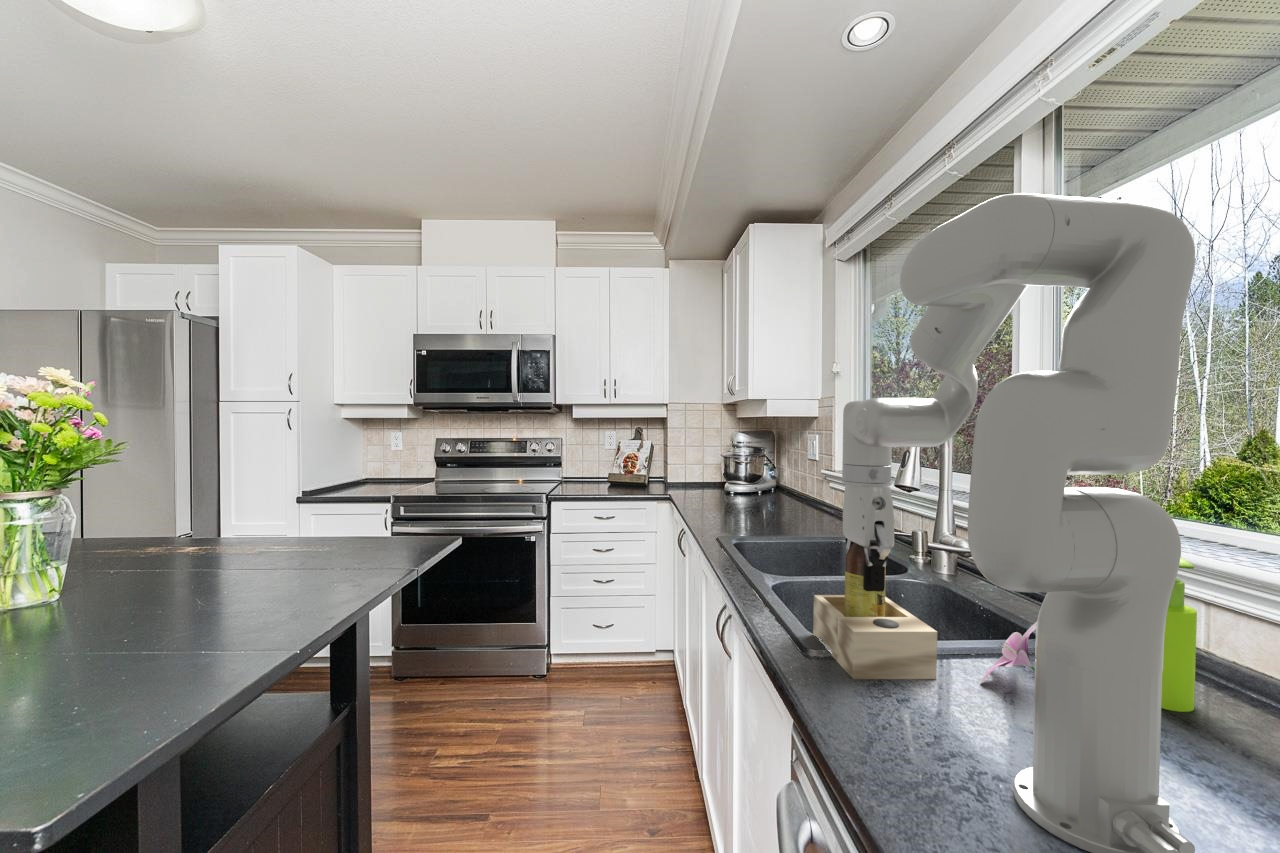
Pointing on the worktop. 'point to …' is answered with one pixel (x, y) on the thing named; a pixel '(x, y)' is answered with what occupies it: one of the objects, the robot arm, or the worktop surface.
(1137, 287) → the robot arm
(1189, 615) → the soap dispenser
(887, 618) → the caddy
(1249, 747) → the worktop surface
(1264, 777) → the worktop surface
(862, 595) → the sauce bottle
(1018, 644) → the lily
